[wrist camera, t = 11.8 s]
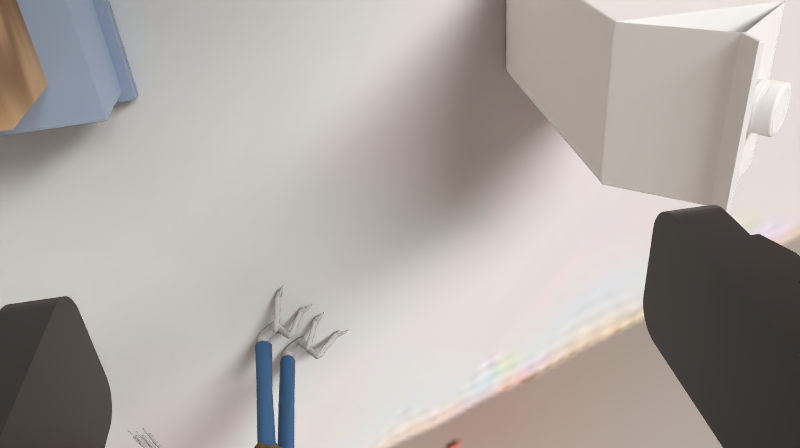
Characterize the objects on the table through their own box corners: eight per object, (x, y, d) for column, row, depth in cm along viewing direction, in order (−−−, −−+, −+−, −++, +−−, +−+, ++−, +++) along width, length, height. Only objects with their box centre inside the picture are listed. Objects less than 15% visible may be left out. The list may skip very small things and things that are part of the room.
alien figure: (413, 369, 55) (472, 611, 39) (365, 410, 57) (402, 659, 40) (203, 226, 46) (164, 464, 30) (151, 279, 47) (88, 533, 31)
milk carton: (505, 71, 44) (640, 231, 28) (505, -50, 40) (662, 53, 24) (615, 57, 44) (811, 206, 28) (626, -64, 40) (859, 28, 24)
